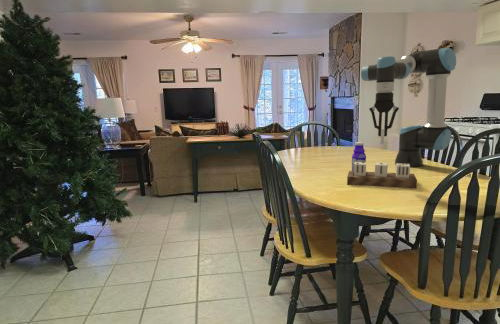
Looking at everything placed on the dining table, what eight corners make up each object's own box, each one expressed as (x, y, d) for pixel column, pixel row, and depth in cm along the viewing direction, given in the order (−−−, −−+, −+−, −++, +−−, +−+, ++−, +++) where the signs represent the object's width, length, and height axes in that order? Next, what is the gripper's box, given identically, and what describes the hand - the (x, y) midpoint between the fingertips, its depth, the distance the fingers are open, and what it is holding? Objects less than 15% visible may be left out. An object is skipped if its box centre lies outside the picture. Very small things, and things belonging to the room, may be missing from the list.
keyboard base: (347, 184, 158) (347, 176, 157) (348, 178, 170) (349, 170, 169) (416, 188, 148) (417, 180, 147) (413, 181, 160) (413, 173, 159)
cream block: (374, 177, 156) (375, 164, 155) (374, 174, 161) (375, 162, 160) (387, 177, 154) (387, 164, 153) (386, 175, 160) (387, 162, 158)
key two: (353, 176, 160) (354, 163, 158) (354, 173, 165) (354, 161, 163) (365, 176, 158) (366, 163, 156) (365, 174, 163) (366, 161, 162)
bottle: (355, 176, 174) (356, 143, 170) (349, 174, 179) (350, 142, 176) (367, 175, 176) (368, 142, 172) (361, 172, 181) (362, 141, 178)
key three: (396, 178, 153) (397, 165, 152) (395, 175, 158) (396, 162, 157) (409, 179, 151) (410, 165, 150) (408, 176, 156) (408, 163, 155)
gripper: (369, 92, 149) (367, 144, 154) (400, 91, 145) (397, 144, 149) (369, 92, 156) (367, 142, 161) (399, 91, 152) (396, 142, 156)
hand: (382, 143), depth 155 cm, fingers closed
